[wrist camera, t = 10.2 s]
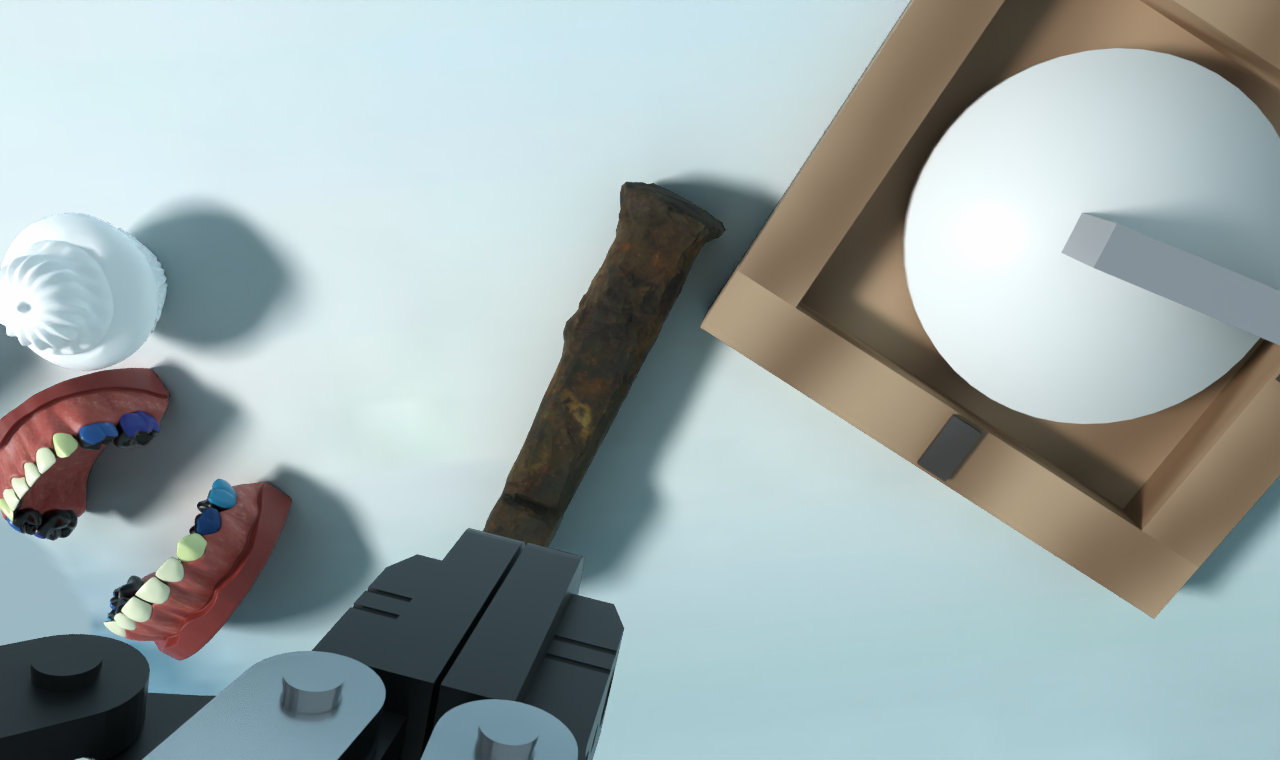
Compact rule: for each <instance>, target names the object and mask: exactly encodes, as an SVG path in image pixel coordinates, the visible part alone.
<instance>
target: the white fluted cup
mask: <svg viewBox="0 0 1280 760" xmlns="http://www.w3.org/2000/svg"><path fill="white" fill-rule="evenodd" d="M164 272H165V270H164V269H162V268H161V263H160V262H158V261H157V257H156V256H155V255H154V254H152V252H151V251H150V250H149V249H148V248H146V247H145V246H144V245H143V244H142V243H140V242H139V241H138V240H137V239H136V238H134V237H133V236H130V235H129V234H128V233H127V232H125V231H124V230H123V229H122V228H118V229H117V228H116V227H114V226H113V225H111V224H110V223H108V222H105V221H103V220H101V219H98V218H96V217H93V216H90V215H86V214H81V213H64V214H57V215H53V216H50V217H46V218H44V219H41V220H39V221H37V222H35V223H33V224H31V225H30V226H28V227H27V228H26V229H24V230H23V231H22V232H21V233H20V234H19V235H18V236H17V238H16V239H15V240H14V241H13V243H12V244H11V246H10V248H9V250H8V251H7V254H6V256H5V258H4V261H3V264H2V267H1V269H0V324H2V325H5V326H6V333H7V335H8V336H17V337H18V339H19V342H20V343H21V345H23V346H28V347H29V348H30V349H31V350H33V351H34V352H35V353H36V354H38V355H39V356H41V357H42V358H44V359H46V360H47V361H49V362H51V363H54V364H56V365H58V366H61V367H64V368H68V369H72V370H79V371H91V370H98V369H102V368H106V367H109V366H112V365H114V364H117V363H119V362H121V361H123V360H124V359H126V358H128V357H129V356H130V355H132V354H133V353H134V352H136V351H137V350H138V349H139V348H140V347H141V346H142V344H143V343H144V342H145V341H146V340H147V338H148V336H149V334H150V332H153V331H154V329H155V326H156V323H157V321H159V318H160V315H161V312H162V308H163V305H164V302H165V296H166V293H167V289H166V288H167V286H168V285H167V284H166V282H165V281H166V279H167V278H166V276H165V275H164Z"/></svg>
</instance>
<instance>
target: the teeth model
mask: <svg viewBox="0 0 1280 760" xmlns="http://www.w3.org/2000/svg"><path fill="white" fill-rule="evenodd" d="M169 396H170V394H169V392H168V391H167V389H166V388H165V386H164V384H163V383H162V381H161V380H160V378H159V377H158V375H157V374H156V373H155V372H154V371H153V370H152V369H148V368H125V369H113V370H104V371H99V372H95V373H91V374H87V375H83V376H80V377H76V378H73V379H69V380H66V381H63V382H61V383H58V384H56V385H54V386H52V387H49V388H47V389H45V390H43V391H41V392H39V393H37V394H35V395H33V396H32V397H30V398H29V399H28V400H27V401H25V402H24V403H23V404H21V405H20V406H18V407H17V408H15V409H14V410H12V411H10V412H9V413H8V414H7V415H5V416H4V417H3V418H2V419H1V420H0V508H1V512H2V515H3V517H4V519H5V520H7V521H8V523H9V525H10V526H11V527H13V528H14V529H15V530H17V531H19V532H21V533H27V534H30V535H35V536H36V537H38V538H42V539H45V538H47V539H50V540H56V539H57V538H58V537H59V538H65V537H68V536H69V535H70V534H71V532H72V531H73V530H74V529H75V527H76V526H77V517H79V516H81V515H82V514H83V513H84V512H85V510H86V485H87V479H88V475H89V472H90V469H91V467H92V465H93V463H94V462H95V460H96V459H97V457H98V456H99V455H100V453H101V452H102V451H103V450H104V448H105V447H106V446H107V445H108V444H110V443H111V442H112V440H113V442H114V444H115V445H116V446H118V447H120V448H133V447H136V446H137V445H142V446H145V445H147V444H148V443H149V442H150V441H151V440H152V439H153V438H154V437H155V436H156V435H157V434H158V433H159V431H160V426H159V423H160V421H161V418H162V416H163V414H164V412H165V411H166V409H167V407H168V404H169V402H168V400H167V398H168V397H169ZM291 503H292V499H291V498H290V497H289V496H288V495H286V494H284V493H283V492H281V491H280V490H278V489H276V488H275V487H273V486H271V485H270V484H268V483H266V482H261V483H252V484H242V485H236V486H231V485H230V484H229V483H228V482H226V481H224V480H222V479H217V480H216V481H215V482H214V483H213V486H212V489H211V490H210V491H209V494H208V497H207V499H206V500H204V501H201V502H199V503H198V504H197V508H198V510H199V511H200V512H202V513H201V514H199V515H197V516H196V518H195V525H194V526H193V527H191V529H190V530H189V532H190V535H188V536H185V537H184V538H182V539H181V540H180V541H179V542H178V546H177V557H178V559H179V560H180V561H181V562H180V561H179V560H178V559H176V558H174V557H171V558H170V559H168V560H167V561H166V562H165V563H164V564H163V565H162V566H161V567H160V568H159V569H158V570H157V572H154V573H152V574H149V575H147V576H145V577H144V578H142V579H141V578H139V577H137V576H131V577H130V578H129V580H128V582H127V584H125V585H123V586H121V587H119V588H117V589H115V590H114V592H113V596H114V597H113V598H111V600H110V603H111V604H110V607H111V608H112V609H113V610H112V611H111V612H110V613H108V617H107V619H108V620H109V621H105V622H104V625H105V626H106V627H107V628H108V629H109V630H110V631H112V632H113V633H115V634H117V635H119V636H124V637H126V638H127V639H130V640H138V641H154V642H155V644H156V645H157V647H158V649H159V650H160V651H161V652H163V653H165V654H167V655H169V656H171V657H173V658H175V659H177V660H184V659H186V658H188V657H190V656H192V655H193V654H195V653H196V652H198V651H199V650H200V649H201V648H202V647H203V646H204V645H205V644H207V643H208V642H209V641H210V640H211V639H212V638H213V636H214V635H215V634H216V633H217V632H218V631H219V630H220V629H221V627H222V626H223V625H224V624H225V623H226V621H227V620H228V619H229V618H230V616H231V615H232V614H233V612H234V611H235V610H236V608H237V607H238V606H239V604H240V603H241V601H242V600H243V599H244V597H245V596H246V594H247V593H248V592H249V590H250V589H251V587H252V585H253V584H254V582H255V580H256V579H257V577H258V575H259V574H260V572H261V570H262V569H263V567H264V565H265V564H266V562H267V560H268V558H269V556H270V554H271V552H272V550H273V548H274V546H275V544H276V542H277V540H278V537H279V535H280V533H281V531H282V528H283V526H284V523H285V521H286V518H287V515H288V512H289V509H290V506H291Z"/></svg>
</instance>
